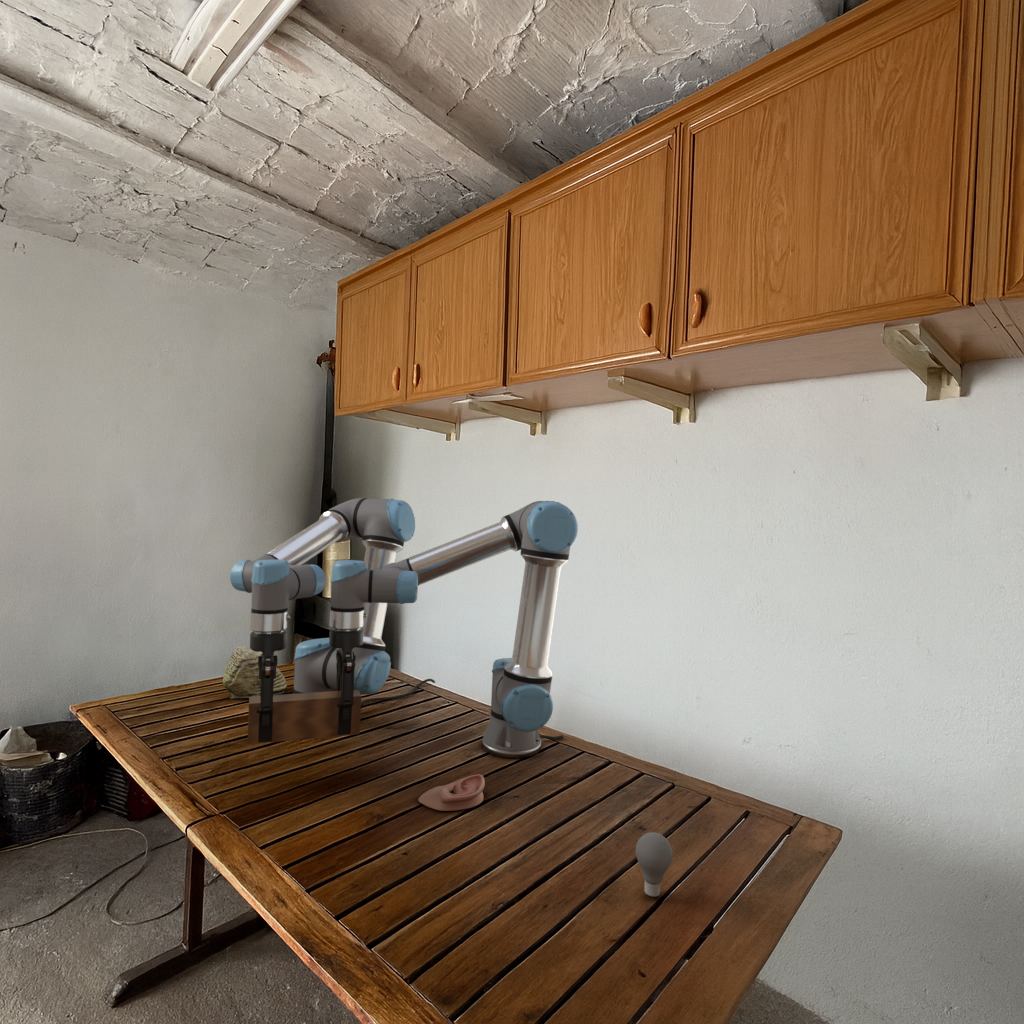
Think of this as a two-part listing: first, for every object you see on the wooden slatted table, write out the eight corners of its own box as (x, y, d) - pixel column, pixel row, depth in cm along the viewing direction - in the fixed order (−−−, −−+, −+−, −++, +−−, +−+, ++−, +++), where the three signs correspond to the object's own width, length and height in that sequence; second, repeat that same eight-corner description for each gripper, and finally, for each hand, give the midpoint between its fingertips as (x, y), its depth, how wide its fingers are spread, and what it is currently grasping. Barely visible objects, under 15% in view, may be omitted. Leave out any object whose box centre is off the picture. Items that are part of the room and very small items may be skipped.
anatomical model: (413, 788, 131) (431, 765, 142) (412, 807, 131) (431, 783, 142) (475, 796, 128) (489, 773, 139) (474, 816, 128) (488, 791, 139)
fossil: (218, 695, 195) (220, 647, 195) (278, 685, 208) (279, 640, 207) (228, 703, 189) (230, 653, 188) (289, 692, 201) (290, 645, 201)
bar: (247, 744, 135) (248, 703, 135) (248, 736, 140) (249, 696, 140) (359, 734, 144) (361, 695, 144) (356, 726, 148) (358, 689, 148)
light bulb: (629, 883, 108) (632, 825, 107) (663, 883, 108) (666, 825, 108) (639, 906, 102) (642, 844, 101) (675, 905, 102) (678, 844, 102)
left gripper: (288, 639, 131) (284, 750, 132) (285, 622, 148) (282, 721, 149) (249, 640, 129) (245, 754, 129) (251, 623, 145) (247, 723, 146)
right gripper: (369, 636, 137) (365, 742, 138) (358, 620, 154) (354, 715, 155) (333, 637, 135) (329, 745, 135) (326, 621, 151) (322, 717, 152)
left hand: (265, 736), depth 139 cm, fingers closed on bar, 5 cm apart
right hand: (342, 729), depth 145 cm, fingers closed on bar, 5 cm apart
